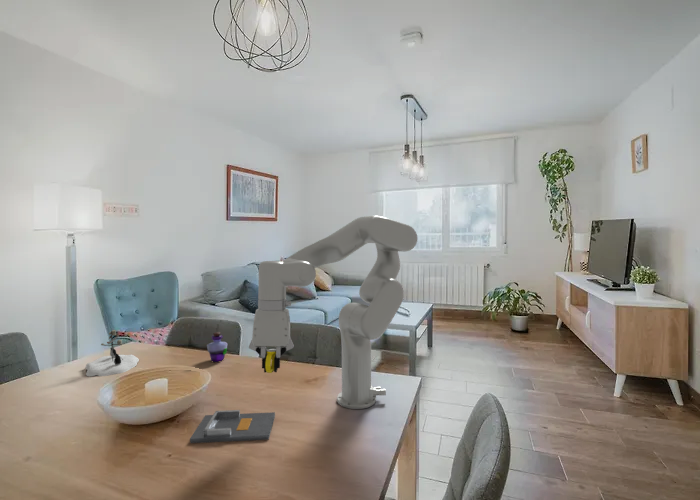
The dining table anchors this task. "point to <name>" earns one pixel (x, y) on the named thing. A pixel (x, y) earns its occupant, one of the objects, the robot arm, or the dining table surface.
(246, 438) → the gray fixture board
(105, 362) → the figurine
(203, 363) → the dining table surface
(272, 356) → the watch
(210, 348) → the potion bottle
